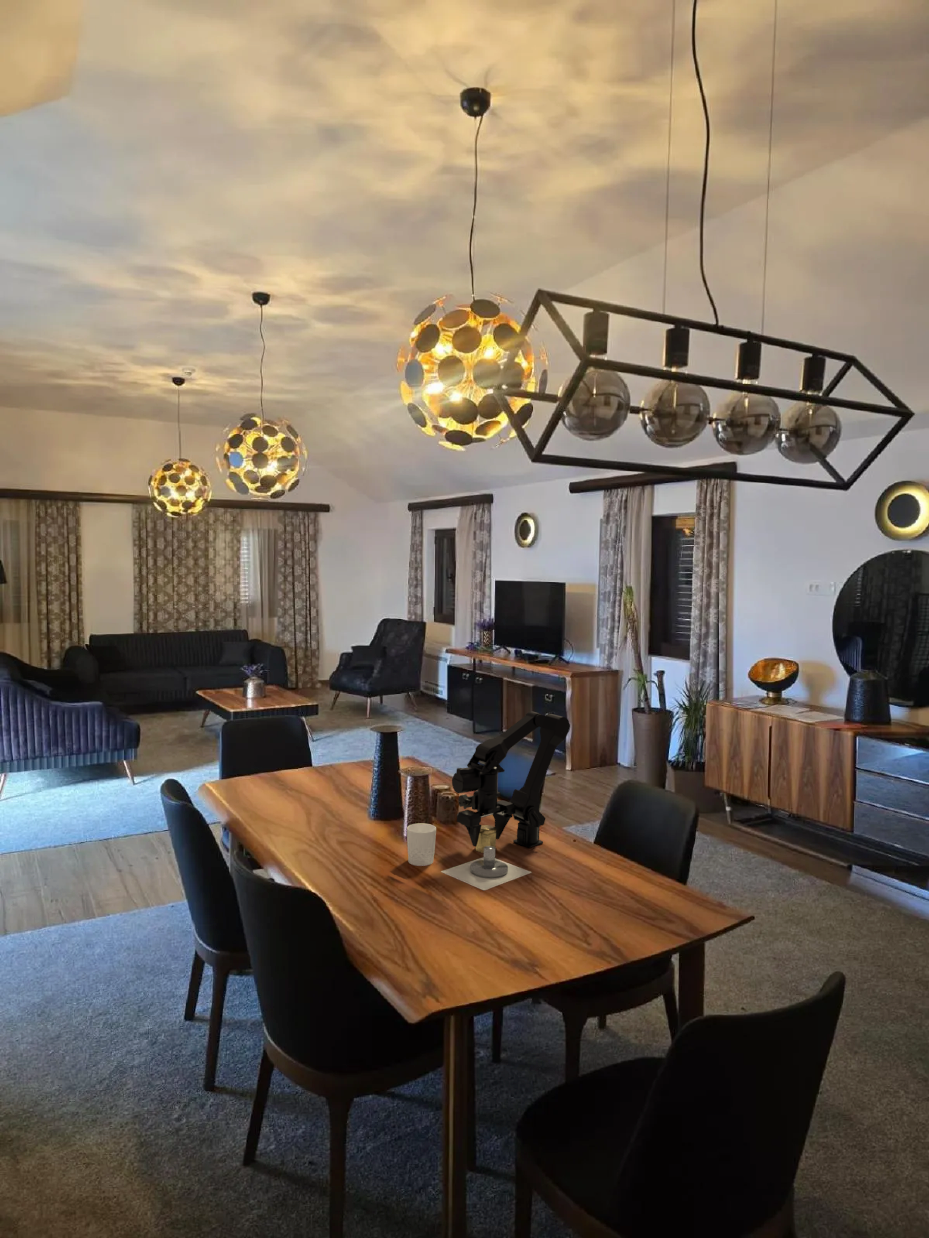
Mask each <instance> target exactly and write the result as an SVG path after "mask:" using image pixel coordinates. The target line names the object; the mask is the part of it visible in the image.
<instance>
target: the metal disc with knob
mask: <svg viewBox="0 0 929 1238" xmlns="http://www.w3.org/2000/svg"><path fill="white" fill-rule="evenodd" d="M483 857H484V860H478V861H475V862H473V863H471V865H470V872H471V873H472V874H473V875H475V876H477V877H481V878H500V877H503V876H505V875H507V873H508V866H507V865H506V864H505V863H503V862H500V861H497V860H495V858H496V849H495V847H493V846H485V847H484V853H483Z"/></svg>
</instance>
